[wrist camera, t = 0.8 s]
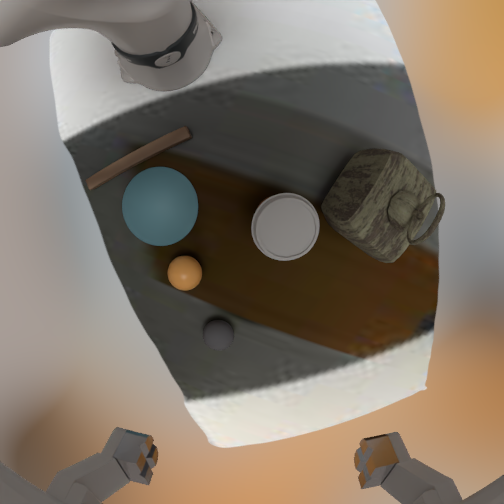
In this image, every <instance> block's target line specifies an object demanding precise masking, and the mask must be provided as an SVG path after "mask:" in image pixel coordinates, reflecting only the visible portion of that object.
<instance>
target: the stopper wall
mask: <svg viewBox="0 0 504 504" xmlns="http://www.w3.org/2000/svg"><path fill="white" fill-rule="evenodd" d="M191 138H192V136H191V134H190V132H189V129H188V127H186V126H184V127H182V128H180V129H178V130H175V131H173V132H171V133H169V134H167V135H165V136H163V137H161V138H159V139H157V140H155V141H153V142H151V143H149V144H147V145H145V146H143V147H141V148H139V149H137V150H135V151H134V152H132V153H130V154H128V155H126V156H125V157H123V158H121V159H119V160H118V161H116V162H114V163H112V164H111V165H109V166H107V167H106V168H104V169H102V170H101V171H99V172H97V173H96V174H94V175H93V176H91V177H90V178H88V179H86V183H87V185H88V188H89V190H92V189H96V188H97V187H99V186H101V185H102V184H104V183H106V182H107V181H109V180H111V179H113V178H114V177H116V176H118V175H120V174H121V173H123V172H125V171H127V170H128V169H130V168H132V167H134V166H136V165H138V164H140V163H142V162H143V161H145V160H147V159H149V158H151V157H153V156H155V155H157V154H159V153H161V152H163V151H165V150H167V149H169V148H172V147H174V146H176V145H178V144H180V143H182V142H185V141H187V140H189V139H191Z"/></svg>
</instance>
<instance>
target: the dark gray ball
mask: <svg viewBox="0 0 504 504" xmlns="http://www.w3.org/2000/svg"><path fill="white" fill-rule="evenodd" d="M203 339H204V342H205V344H206V345H207V346H208V347H209V348H211V349H213V350H224V349H226V348H228V347H229V346H230V345H231V344H232V342H233V339H234V331H233V329H232V327H231V326H230V324H228V323H227V322H225V321H223V320H213V321H211V322H209V323H208V324H207V325H206V326H205V328H204V330H203Z"/></svg>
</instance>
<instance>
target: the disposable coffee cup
mask: <svg viewBox="0 0 504 504" xmlns="http://www.w3.org/2000/svg"><path fill="white" fill-rule="evenodd" d="M251 230H252V236H253V239H254V242H255V244H256V245H257V247H258V248H259V249H260V251H261V252H262V253H264V254H265V255H267V256H268V257H270V258H273V259H276V260H284V261H287V260H293V259H296V258H299V257H301V256H303V255H304V254H306V253H307V252H308V251H309V250H310V249H311V248H312V247H313V245H314V244H315V242H316V240H317V237H318V234H319V218H318V214H317V212H316V210H315V208H314V207H313V205H312V204H311V203H310V202H309V201H308V200H307V199H305V198H303V197H302V196H299V195H297V194H293V193H281V194H277V195H274V196H270V197H267V198H265V199H264V200H262V201H261V203H260V204H259V205H258V207H257V210H256V212H255V214H254V217H253V219H252V227H251Z"/></svg>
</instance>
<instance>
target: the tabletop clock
mask: <svg viewBox="0 0 504 504" xmlns="http://www.w3.org/2000/svg"><path fill="white" fill-rule="evenodd" d="M435 197H439V198H440V203H441V204H440V208H439V211H438V213H437V215H436V217H435V219H434V221H433V222H432V224H431V226H430V227H429V228H428V230H427V231H426V232H425V233H424V234H423V235H422V236H421V237H420V238H418V239H417V240H414V241H413V238H414V237H415V235H416V234H417V232H418V231H419V229H420V228H421V226H422V224H423V222H424V220H425V219H426V217H427V215H428V213H429V211H430V209H431V207H432V205H433V202H434V199H435ZM321 209H322V212H323V214H324V216H325V218H326V221H327V222H328V224H329V225H330V226H331V227H332V228H333V229H334V230H335V231H337V232H338V233H339V234H341V235H342V236H343V237H345V238H346V239H348V240H349V241H350V242H352V243H353V244H354V245H356V246H357V247H358V248H360V249H361V250H362V251H364V252H365V253H366V254H368V255H369V256H371V257H373V258H375V259H377V260H379V261H381V262H385V263H393V262H394V261H395V260H396V259H397V258H399V257H400V256H401V254H402V253H403V252H404V251H405V250H406V248H407V247H408V246H409V244H412V245H416V244H420V243H422V242H423V241H425V240H426V239H427V238H428V237H429V236H431V234H432V233H433V232H434V230H435V229H436V227H437V226H438V224H439V222H440V220H441V218H442V216H443V213H444V209H445V199H444V197H443V196H442V195H441V194H440V193H436V190H435V189H434V188H433V187H432V185H431V184H430V183H429V182H428V181H427V180H426V179H425V178H424V176H423V175H422V174H421V173H420V172H419V171H418V170H417V169H416V168H415V167H414V166H413V165H412V164H411V163H410V161H409V160H408V159H407V158H406V157H405V156H403V155H402V154H401V153H398V152H395V151H390V150H386V149H367V150H362V151H359V152H357V153H355V154H354V156H353V157H352V158H351V159H350V160H349V162H348V163H347V165H346V166H345V168H344V169H343V171H342V172H341V174H340V175H339V177H338V178H337V180H336V181H335V183H334V185H333V186H332V188H331V189H330V191H329V192H328V194H327V196H326V197H325V199H324V201H323V203H322V205H321Z"/></svg>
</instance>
